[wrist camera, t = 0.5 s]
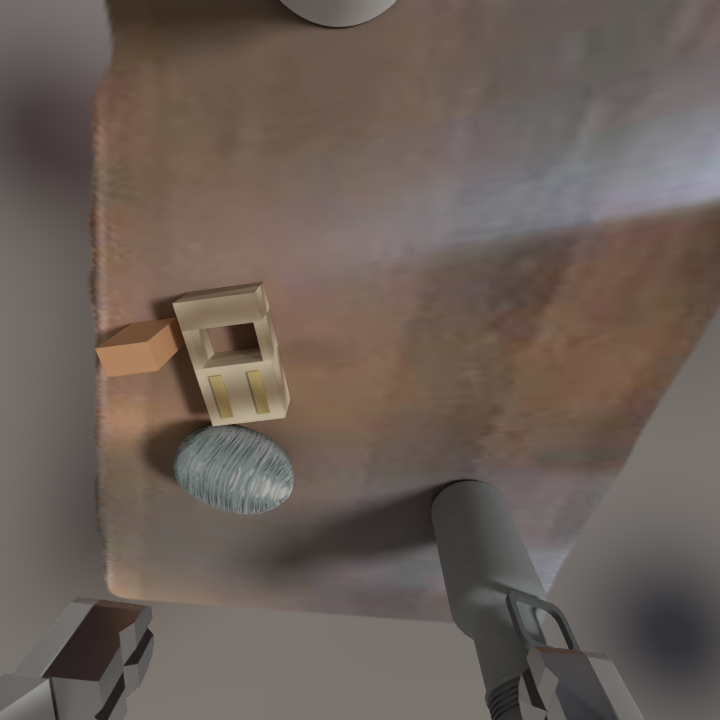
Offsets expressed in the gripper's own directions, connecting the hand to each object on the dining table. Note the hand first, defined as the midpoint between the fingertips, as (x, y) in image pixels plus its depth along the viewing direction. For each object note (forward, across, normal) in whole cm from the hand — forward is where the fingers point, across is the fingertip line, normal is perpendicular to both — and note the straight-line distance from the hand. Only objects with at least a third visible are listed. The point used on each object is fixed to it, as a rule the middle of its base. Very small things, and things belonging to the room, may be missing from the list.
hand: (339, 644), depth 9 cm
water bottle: (+41, -16, +26) cm, 51 cm away
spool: (+39, +13, +19) cm, 46 cm away
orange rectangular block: (+37, +22, +5) cm, 44 cm away
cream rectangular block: (+38, +13, +6) cm, 40 cm away
